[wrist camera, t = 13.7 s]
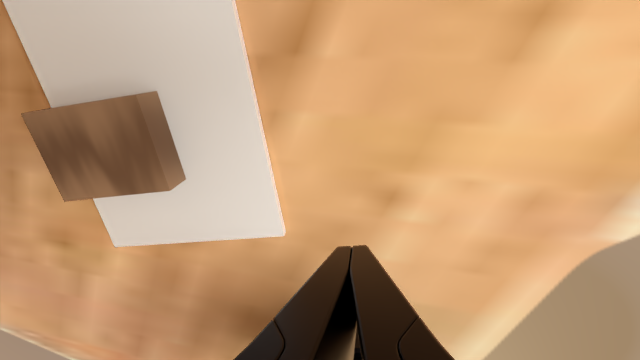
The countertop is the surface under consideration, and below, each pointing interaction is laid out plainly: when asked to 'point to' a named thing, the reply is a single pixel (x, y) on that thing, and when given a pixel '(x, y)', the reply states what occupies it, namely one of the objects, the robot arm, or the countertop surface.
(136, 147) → the walnut slab
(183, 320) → the countertop surface
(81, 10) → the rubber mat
